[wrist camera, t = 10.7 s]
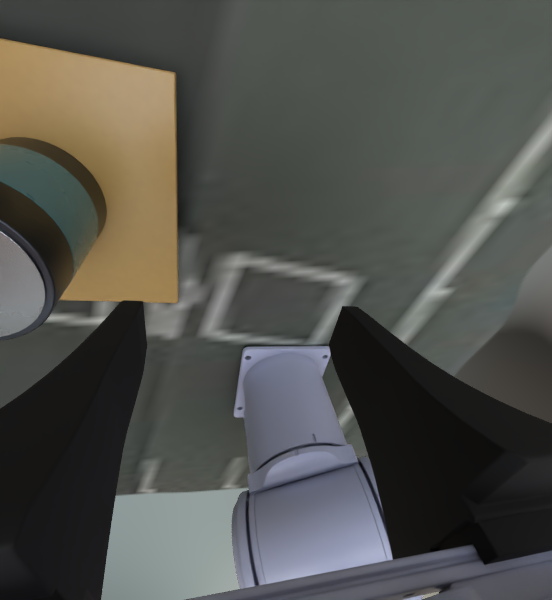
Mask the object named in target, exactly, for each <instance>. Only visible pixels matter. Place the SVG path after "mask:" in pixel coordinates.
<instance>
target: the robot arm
mask: <svg viewBox="0 0 552 600" xmlns="http://www.w3.org/2000/svg"><path fill="white" fill-rule="evenodd" d="M146 349H147V341H146V330H145V319H144V308H143V301H130V300H123V301H122V302H120V303H119V304H118V305H117V307H116V308H115V309H114V310H113V311H112V312H111V313H110V315H109V316H108V317H107V318H106V319H105V320H104V321H103V322H102V323H101V324H100V326H99V327H98V328H97V329H96V330H95V331H94V332H93V333H92V334H91V335H90V336H89V337H88V338H87V339H86V340H85V341H84V342H83V343H82V344H81V345H80V346H79V347H78V348H77V349H75V350H74V351H73V352H72V353H71V354H70V355H69V356H68V357H67V358H66V359H64V360H63V361H62V362H61V363H60V364H59V365H58V366H57V367H55V368H54V369H53V370H52V371H51V372H49V373H48V374H47V375H46V376H45V377H43V378H42V379H41V380H40V381H38V382H37V383H36V384H34V385H33V386H32V387H31V388H29V389H28V390H27V391H25V392H24V393H22V394H21V395H20V396H18V397H17V398H15V399H14V400H13V401H11V402H10V403H8V404H7V405H5V406H4V407H2V408H1V409H0V600H101V595H102V587H103V579H104V572H105V564H106V556H107V549H108V542H109V535H110V528H111V521H112V514H113V508H114V501H115V495H116V489H117V482H118V476H119V470H120V464H121V459H122V453H123V447H124V443H125V438H126V434H127V430H128V427H129V423H130V419H131V416H132V412H133V408H134V405H135V401H136V398H137V394H138V390H139V386H140V383H141V379H142V375H143V371H144V364H145V357H146ZM324 355H325V356H324ZM330 355H331V357H332V360H333V364H334V367H335V370H336V372H337V375H338V377H339V380H340V382H341V384H342V387H343V389H344V391H345V394H346V396H347V398H348V401H349V403H350V405H351V408H352V410H353V412H354V415H355V417H356V419H357V422H358V425H359V427H360V430H361V433H362V436H363V440H364V443H365V446H366V449H367V452H368V456H369V458H367V457H361V458H358V460H357V457H356V455H355V452H354V450H353V447H352V445H351V444H349V445H347V443H346V440H345V438H344V435H343V432H342V430H341V427H340V424H339V422H338V419H337V416H336V414H335V411H334V408H333V406H332V403H331V400H330V398H329V395H328V392H327V390H326V387H325V384H324V382H323V379H322V377H323V374H324V371H325V369H326V366H327V363H328V360H329V358H330ZM246 356H249V357H246ZM233 413H234V416H235V417H244V422H245V431H246V440H247V449H248V459H249V468H250V473H249V474H248V475H247V477H248V486H249V490H248V491H244V492H242V493H241V494H240V495H239V498H238V501H237V503H236V505H235V507H234V510H233V515H232V544H233V554H234V561H235V568H236V574H237V579H238V583H239V586H240V589H238V590H233V591H228V592H223V593H218V594H212V595H207V596H202V597H196V598H191V599H186V600H552V423H549V422H547V421H544V420H542V419H539V418H537V417H534V416H532V415H529V414H527V413H525V412H522V411H520V410H518V409H516V408H513V407H511V406H509V405H507V404H505V403H503V402H500V401H498V400H496V399H494V398H492V397H490V396H488V395H486V394H484V393H482V392H480V391H479V390H477V389H475V388H473V387H471V386H469V385H467V384H465V383H464V382H462V381H460V380H458V379H457V378H455V377H453V376H452V375H450V374H448V373H447V372H445V371H444V370H442V369H440V368H439V367H437V366H436V365H434V364H433V363H431V362H430V361H428V360H427V359H425V358H424V357H422V356H421V355H420V354H418V353H417V352H415V351H414V350H412V349H411V348H410V347H408V346H407V345H406V344H404V343H403V342H402V341H401V340H399V339H398V338H397V337H395V336H394V335H393V334H392V333H390V332H389V331H388V330H387V329H385V328H384V327H383V326H382V325H380V324H379V323H378V322H377V321H375V320H374V319H373V318H371V317H370V316H369V315H368V314H366V313H365V312H364V311H362V310H361V309H359V308H358V307H348V306H342V309H341V312H340V315H339V317H338V320H337V323H336V326H335V329H334V331H333V334H332V337H331V340H330V343H329V346H273V347H246V348H244V349H243V351H242V357H241V364H240V371H239V378H238V384H237V391H236V398H235V405H234V412H233ZM369 459H370V460H369ZM438 591H439V594H437V595H434V596H431V597H428V598H425V599H422V598H423V595H425V594H429V593H433V592H438Z"/></svg>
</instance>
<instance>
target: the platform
mask: <svg viewBox="0 0 552 600" xmlns="http://www.w3.org/2000/svg"><path fill="white" fill-rule="evenodd" d="M10 137H26V138H33V139H38V140H41V141H44V142H47V143H50V144H52V145H55V146H57V147H59V148H61V149H62V150H64V151H66V152H67V153H69V154H70V155H72V156H73V157H75V158H76V159H77V160H78V161H79V162H81V163H82V164H83V165H84V166H85V167H86V168H87V169H88V170H89V172H90V173H91V174H92V175H93V176H94V178H95V179H96V181H97V183H98V184H99V186H100V188H101V190H102V192H103V195H104V198H105V202H106V209H107V216H106V222H105V225H104V228H103V230H102V232H101V233H100V235H99V236H98V238H97V240H96V241H95V243H94V245H93V247H92V249H91V250H90V252H89V254H88V255H87V257H86V258H85V260H84V262H83V263H82V265H81V267H80V268H79V270H78V271H77V273H76V275H75V276H74V278H73V279H72V281H71V283H70V284H69V286H68V287H67V289H66V290H65V291H64V293H63V294H62V296H61V298H60V299H59V300H80V301H118V302H122V301H123V300H130V301H143V302H155V303H178V298H179V288H178V198H177V108H176V73H175V72H171V71H166V70H160V69H155V68H150V67H145V66H140V65H135V64H130V63H125V62H120V61H115V60H109V59H104V58H99V57H94V56H89V55H84V54H79V53H74V52H69V51H63V50H58V49H53V48H48V47H43V46H38V45H33V44H28V43H23V42H17V41H12V40H7V39H2V38H0V139H5V138H10Z"/></svg>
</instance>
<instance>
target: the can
mask: <svg viewBox="0 0 552 600" xmlns="http://www.w3.org/2000/svg"><path fill="white" fill-rule="evenodd" d="M106 216H107V209H106V202H105V198H104V195H103V192H102V190H101V188H100V186H99V184H98V183H97V181H96V179H95V178H94V176H93V175H92V174H91V173H90V172H89V170H88V169H87V168H86V167H85V166H84V165H83V164H82V163H81V162H79V161H78V160H77V159H76V158H75V157H73V156H72V155H70V154H69V153H67V152H66V151H64V150H62V149H61V148H59V147H57V146H55V145H52V144H50V143H47V142H44V141H41V140H38V139H33V138H26V137H10V138H5V139H0V341H3V340H8V339H13V338H17V337H19V336H22V335H25V334H27V333H29V332H31V331H33V330H35V329H36V328H37V327H39V326H40V325H42V324H43V322H44V321H45V320H46V319H47V318H48V317H49V315H50V314H51V312H52V311H53V309H54V307H55V306H56V304H57V303H58V301H59V299H60V298H61V296H62V294H63V293H64V291H65V290H66V289H67V287H68V286H69V284H70V283H71V281H72V279H73V278H74V276H75V275H76V273H77V271H78V270H79V268H80V267H81V265H82V263H83V262H84V260H85V258H86V257H87V255H88V254H89V252H90V250H91V249H92V247H93V245H94V243H95V241H96V240H97V238H98V236H99V235H100V233H101V232H102V230H103V228H104V225H105V222H106Z"/></svg>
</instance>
